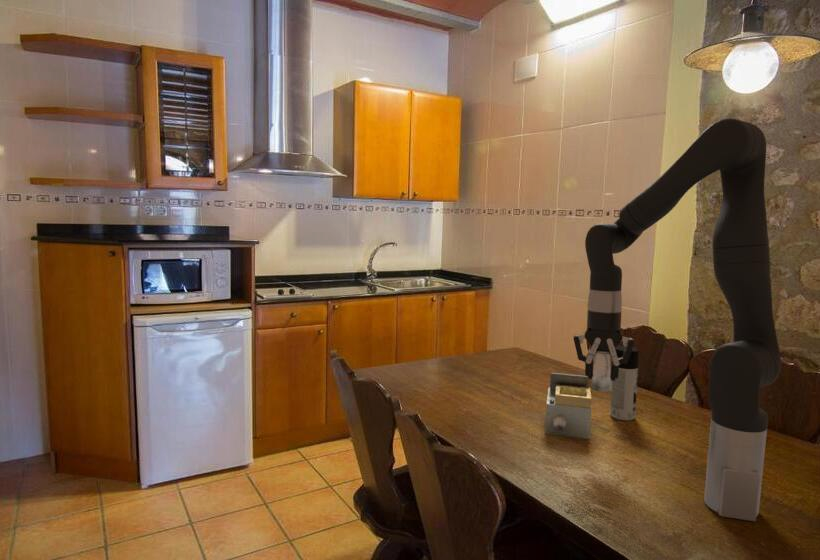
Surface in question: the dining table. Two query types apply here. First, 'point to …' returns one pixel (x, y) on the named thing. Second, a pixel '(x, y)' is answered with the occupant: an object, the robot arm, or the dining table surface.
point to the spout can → (601, 371)
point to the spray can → (625, 387)
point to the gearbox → (568, 406)
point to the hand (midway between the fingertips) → (601, 378)
